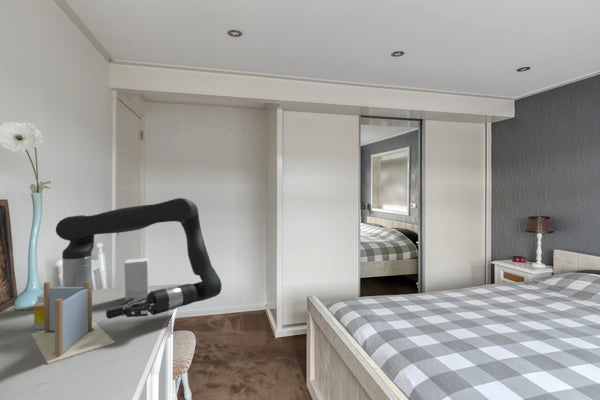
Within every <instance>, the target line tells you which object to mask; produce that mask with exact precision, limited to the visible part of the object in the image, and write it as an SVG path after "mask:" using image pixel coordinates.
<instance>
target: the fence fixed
mask: <svg viewBox="0 0 600 400" xmlns="http://www.w3.org/2000/svg"><path fill="white" fill-rule="evenodd" d="M83 289H88V332H89V331H91V330H92V321H93V282H85V283H84V287H63V286H56V287H55V286H53V282H52V281H46V282H44V283H43V293H44V329H43V331H44V332H45V333H48V332H50V331H55V300H57V299H63V301H64V300H66V299H67V298H69V297H71V296H72V295H74V294H76V293H78V292H79V291H81V290H83Z"/></svg>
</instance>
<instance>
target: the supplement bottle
mask: <svg viewBox="0 0 600 400" xmlns="http://www.w3.org/2000/svg"><path fill="white" fill-rule="evenodd" d="M36 298H37V299H36V300H37V301H35V302H34V303H33V316H34V317H33V328H34V329H35V330H44V292H43V293H40V294H38V295H37V297H36Z"/></svg>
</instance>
